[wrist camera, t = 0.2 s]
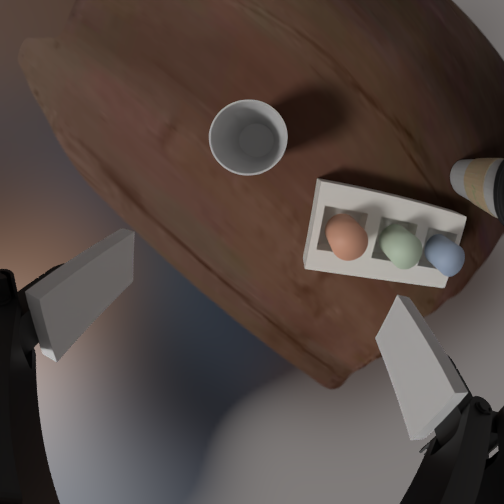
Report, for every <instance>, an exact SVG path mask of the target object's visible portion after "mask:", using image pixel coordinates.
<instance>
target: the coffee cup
mask: <svg viewBox="0 0 504 504" xmlns="http://www.w3.org/2000/svg"><path fill="white" fill-rule="evenodd" d="M450 181H451V184H452V187H453V188H454V190H455V191H456V192H457V193H458V194H459V195H461V196H463V197H465V198H466V199H468V200H470V201H471V202H472V203H473V204H475V205H476V206H478V207H480V208H481V209H483V210H484V211H486V212H488V213H489V214H491V215H492V216H494V217H495V218H498V219H499V221H500V222H501V224H502V225H504V159H503V158H476V159H465V160H459V161H457V162H456V163H455V164H454V166H453V167H452V169H451V173H450Z"/></svg>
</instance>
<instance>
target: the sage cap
mask: <svg viewBox="0 0 504 504" xmlns="http://www.w3.org/2000/svg"><path fill="white" fill-rule="evenodd" d="M379 245H380V248H381V250H382V251H383V252H384V253H385V254H386V256H387V257H388V258H389V259H390V260H391V261H392V262H393V264H394V265H395V266H396V267H397V268H399V269H409V268H412V267H413V266H415V265H416V264H417V263H418V261H419V260H420V258H421V256H422V250H423V248H422V244H421V241H420V240H419V239H418V238H417V237H416V236H415V235H413V234H412V233H411V232H409V231H408V230H407V229H405V228H404V227H402V226H401V225H399V224H391V225H389V226H387V227H386V228H385V229H384V230H383V231H382V232H381V234H380V238H379Z"/></svg>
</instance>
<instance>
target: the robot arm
mask: <svg viewBox="0 0 504 504" xmlns="http://www.w3.org/2000/svg"><path fill="white" fill-rule="evenodd" d="M134 235H135V232H134V231H130V230H126V229H122V228H121V229H120V230H118V231H117V232H115V233H113V234H111V235H110V236H108V237H106V238H105V239H103V240H101V241H100V242H98V243H96V244H95V245H93V246H91V247H90V248H88V249H87V250H85V251H84V252H82V253H80V254H79V255H77V256H76V257H75V258H73V259H71V260H70V261H68V262H67V263H65V264H61V265H58V266H55V267H53V268H51V269H50V270H48V271H47V272H46V273H45V274H42V275H41V276H39V278H36V279H35V280H34V281H32V282H31V283H29V284H28V285H27V286H25V287H24V288H22V289H21V290H20V291H18V292H17V287H16V283H15V278H14V274H13V272H12V271H10V270H8V269H0V504H60V503H59V500H58V497H57V494H56V490H55V487H54V484H53V480H52V477H51V473H50V470H49V465H48V461H47V456H46V452H45V447H44V442H43V436H42V430H41V424H40V417H39V407H38V397H37V382H36V353H35V350H34V347H35V345H37V344H38V343H39V344H40V347H41V350H42V353H43V354H44V355H45V356H47V357H49V358H50V359H52V360H54V361H55V362H58V361H59V359H60V358H61V357H62V356H63V355H64V354H65V353H66V351H67V350H68V349H69V348H70V347H71V346H72V345H73V344H74V342H75V341H76V340H77V339H78V338H79V337H80V336H81V335H82V334H83V333H84V331H85V330H86V329H87V328H88V327H89V326H90V325H91V324H92V323H93V322H94V321H95V320H96V319H97V317H98V316H99V315H100V314H101V313H102V312H103V311H104V310H105V309H106V308H107V307H108V306H109V305H110V304H111V303H112V302H113V301H114V300H115V299H116V298H117V297H118V296H119V295H120V294H121V293H122V292H123V291H124V290H125V289H126V288H127V287H128V286H129V285H130V284H131V283H132V281H133V255H134ZM375 339H376V341H377V344H378V346H379V349H380V352H381V354H382V357H383V359H384V362H385V365H386V367H387V370H388V373H389V376H390V378H391V381H392V384H393V387H394V390H395V392H396V396H397V399H398V401H399V405H400V408H401V411H402V414H403V417H404V421H405V424H406V427H407V430H408V434H409V437H410V440H418V439H425V438H426V437H427V436H428V435H429V434H430V433H431V432H432V431H433V430H435V433H436V436H435V437H434V438H433V439H432V440H431V441H430V442H429V443H427V445H425V446H424V447H423V448H422V449H421V450H420V451H419V452H420V453H421V452H423V451H424V450H425V449H427V451H426V453H425V454H424V455H425V456H424V458H423V460H422V463H421V465H420V467H419V469H418V471H417V473H416V475H415V477H414V479H413V481H412V483H411V485H410V487H409V489H408V490H407V492H406V494H405V495H404V497H403V499H402V501H401V502H400V504H504V406H503V407H502V408H501V410H500V411H499V412H495V411H492V408H491V406H490V405H489V403H488V402H487V401H486V400H485V399H483V398H481V397H479V396H475V397H473V396H472V394H471V392H470V391H469V389H468V387H467V385H466V383H465V381H464V380H463V378H462V376H461V375H460V373H459V371H458V369H456V366H455V364H454V362H453V361H452V359H451V358H450V357H449V356H448V355H447V354H446V353H445V351H444V349H443V348H442V346H441V344H440V343H439V341H438V340H437V338H436V336H435V335H434V333H433V332H432V330H431V329H430V327H429V326H428V325H427V323H426V321H425V320H424V318H423V317H422V315H421V314H420V312H419V311H418V309H417V308H416V307H415V305H414V304H413V302H412V301H411V300H410V298H409V297H405V296H400V295H397V296H396V299H395V301H394V303H393V305H392V307H391V309H390V311H389V313H388V315H387V317H386V319H385V321H384V323H383V325H382V327H381V328H380V330H379V332H378V334H377V336H376V338H375ZM497 446H498V449H499V451H498V452H497V453H496V454H495V455H493V456H492V457H491V458H489V453H490V452H491V451H492V450H494V449H495V448H496V447H497Z"/></svg>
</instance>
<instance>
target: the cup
mask: <svg viewBox="0 0 504 504" xmlns="http://www.w3.org/2000/svg"><path fill="white" fill-rule="evenodd" d="M287 140H288V135H287V128H286V125H285V122H284V120H283V119H282V117H281V116H280V114H279V113H278V112H277V111H276V110H275V109H274V108H273V107H271V106H270V105H268V104H266V103H264V102H261V101H257V100H240V101H236V102H233V103H231V104H229V105H227V106H226V107H224V108H223V109H222V110H221V111H220V112H219V113H218V114H217V115H216V117H215V118H214V120H213V122H212V124H211V127H210V132H209V144H210V148H211V151H212V153H213V155H214V157H215V159H216V160H217V161H218V162H219V164H220V165H222V166H223V167H224V168H225V169H227V170H229V171H231V172H233V173H236V174H240V175H256V174H260V173H263V172H265V171H267V170H269V169H271V168H272V167H273V166H274V165H276V164H277V163H278V161H279V160H280V159H281V157H282V156H283V154H284V152H285V149H286V146H287Z"/></svg>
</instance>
